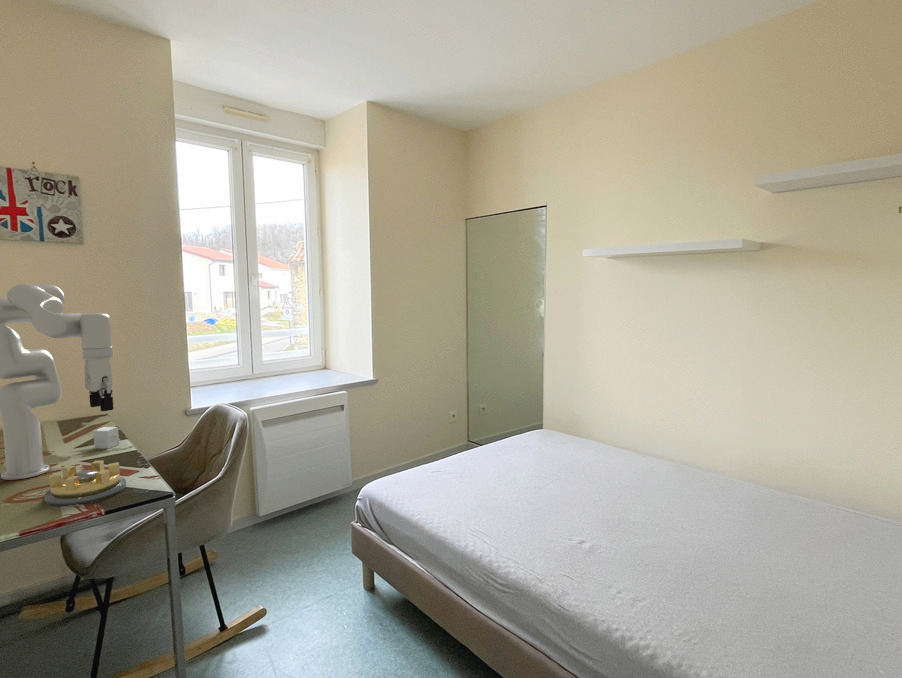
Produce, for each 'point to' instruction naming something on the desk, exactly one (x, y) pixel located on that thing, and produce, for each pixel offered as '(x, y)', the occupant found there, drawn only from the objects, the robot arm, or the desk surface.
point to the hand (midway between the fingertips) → (101, 408)
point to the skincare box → (106, 437)
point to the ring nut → (84, 480)
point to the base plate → (85, 499)
